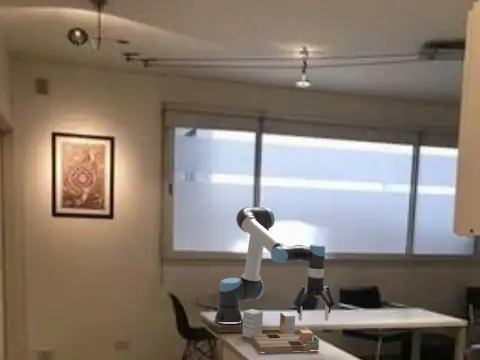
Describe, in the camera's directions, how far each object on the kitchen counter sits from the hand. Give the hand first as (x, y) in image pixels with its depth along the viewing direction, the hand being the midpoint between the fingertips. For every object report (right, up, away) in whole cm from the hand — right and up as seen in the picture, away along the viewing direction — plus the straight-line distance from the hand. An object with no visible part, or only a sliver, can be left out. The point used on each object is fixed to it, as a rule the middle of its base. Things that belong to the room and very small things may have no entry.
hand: (313, 320), depth 240 cm
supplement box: (-30, -11, +10) cm, 33 cm away
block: (-4, -9, -2) cm, 10 cm away
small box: (-11, -12, +15) cm, 23 cm away
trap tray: (-14, -11, -4) cm, 19 cm away
